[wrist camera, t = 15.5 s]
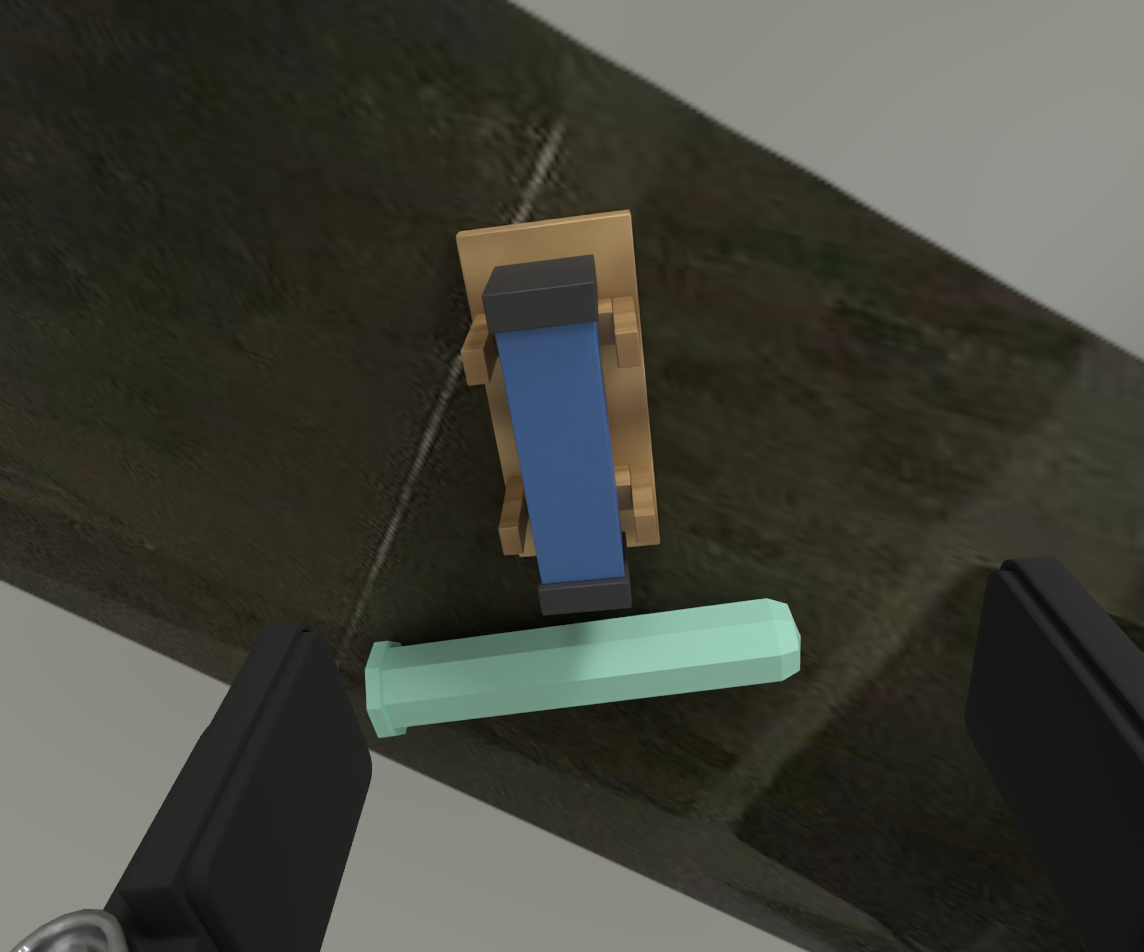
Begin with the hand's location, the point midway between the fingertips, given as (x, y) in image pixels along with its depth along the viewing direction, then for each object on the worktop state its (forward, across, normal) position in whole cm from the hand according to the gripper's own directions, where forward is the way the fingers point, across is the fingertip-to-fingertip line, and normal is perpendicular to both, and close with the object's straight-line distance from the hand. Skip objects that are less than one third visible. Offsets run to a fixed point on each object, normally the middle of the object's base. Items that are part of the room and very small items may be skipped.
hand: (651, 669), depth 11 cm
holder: (+28, +3, +8) cm, 30 cm away
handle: (+25, +3, +8) cm, 27 cm away
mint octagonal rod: (+28, +4, +24) cm, 37 cm away
